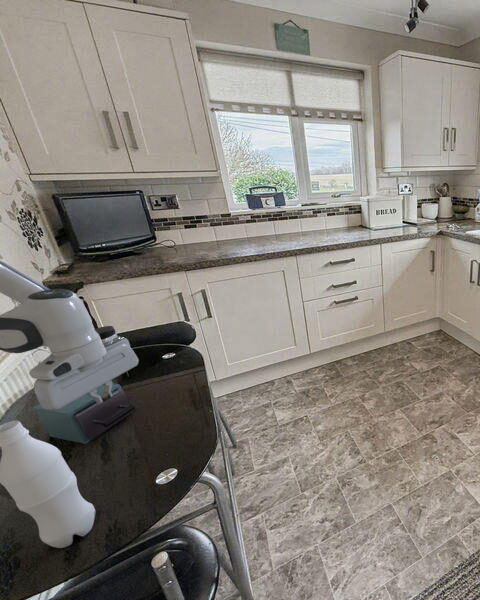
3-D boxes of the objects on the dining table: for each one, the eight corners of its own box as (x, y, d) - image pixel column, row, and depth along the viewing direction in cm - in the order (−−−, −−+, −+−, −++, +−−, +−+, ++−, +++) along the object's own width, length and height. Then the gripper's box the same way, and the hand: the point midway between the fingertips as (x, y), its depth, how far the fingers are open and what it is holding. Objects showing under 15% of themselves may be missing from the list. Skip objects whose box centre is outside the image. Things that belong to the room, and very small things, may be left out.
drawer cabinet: (132, 412, 94) (119, 384, 90) (85, 444, 83) (68, 413, 80) (99, 407, 98) (85, 380, 94) (50, 436, 87) (32, 407, 83)
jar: (109, 364, 122) (95, 336, 118) (92, 363, 124) (78, 335, 120) (131, 352, 131) (119, 325, 126) (115, 351, 132) (103, 325, 128)
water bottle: (76, 514, 64) (10, 412, 55) (110, 513, 64) (50, 410, 55) (37, 554, 58) (-45, 445, 49) (75, 553, 57) (0, 443, 48)
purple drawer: (146, 413, 91) (135, 390, 88) (104, 443, 81) (91, 418, 79) (102, 406, 96) (91, 384, 93) (58, 433, 86) (44, 410, 83)
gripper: (116, 333, 89) (135, 375, 94) (19, 376, 71) (49, 426, 76) (133, 334, 88) (152, 377, 93) (37, 378, 69) (67, 429, 74)
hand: (105, 399), depth 84 cm, fingers closed
